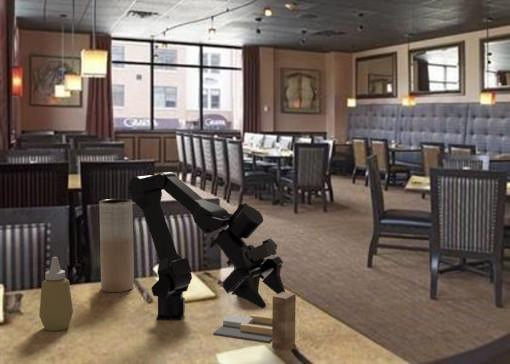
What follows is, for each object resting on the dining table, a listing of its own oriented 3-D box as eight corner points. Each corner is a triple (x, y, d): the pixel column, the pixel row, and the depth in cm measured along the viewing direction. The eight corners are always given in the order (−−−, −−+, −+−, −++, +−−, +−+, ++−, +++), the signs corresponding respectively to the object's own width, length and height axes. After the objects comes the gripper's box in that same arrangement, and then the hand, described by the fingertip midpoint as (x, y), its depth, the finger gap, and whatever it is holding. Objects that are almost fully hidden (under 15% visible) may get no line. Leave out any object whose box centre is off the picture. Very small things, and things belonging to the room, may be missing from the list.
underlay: (213, 334, 136) (213, 326, 136) (232, 318, 148) (233, 311, 147) (269, 342, 131) (269, 334, 131) (285, 325, 142) (285, 318, 142)
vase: (95, 292, 171) (94, 202, 168) (108, 283, 181) (107, 198, 178) (126, 293, 170) (125, 203, 167) (138, 284, 179) (136, 199, 177)
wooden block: (272, 346, 129) (272, 296, 127) (282, 340, 132) (282, 291, 131) (285, 350, 127) (285, 298, 126) (294, 343, 130) (295, 294, 129)
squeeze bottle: (80, 324, 143) (78, 255, 141) (59, 335, 135) (57, 262, 133) (54, 320, 145) (52, 252, 144) (32, 330, 138) (30, 259, 136)
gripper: (232, 235, 124) (274, 291, 119) (276, 223, 139) (315, 273, 134) (205, 265, 129) (244, 320, 124) (250, 251, 144) (287, 299, 139)
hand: (275, 302), depth 130 cm, fingers open, 9 cm apart
